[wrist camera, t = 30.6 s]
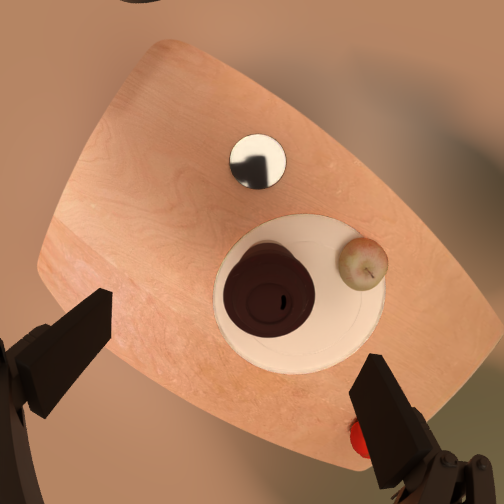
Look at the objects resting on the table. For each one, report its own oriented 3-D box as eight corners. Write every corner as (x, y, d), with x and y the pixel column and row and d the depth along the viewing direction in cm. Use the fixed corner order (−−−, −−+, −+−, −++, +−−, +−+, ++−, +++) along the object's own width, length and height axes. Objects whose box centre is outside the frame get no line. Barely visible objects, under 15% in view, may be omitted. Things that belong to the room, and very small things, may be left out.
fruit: (381, 270, 43) (402, 288, 36) (340, 286, 44) (354, 308, 37) (370, 226, 42) (391, 236, 34) (326, 242, 43) (340, 256, 35)
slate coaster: (237, 129, 39) (236, 128, 38) (291, 142, 39) (292, 141, 39) (224, 181, 41) (223, 182, 40) (278, 195, 41) (278, 195, 41)
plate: (262, 391, 50) (262, 394, 50) (180, 264, 44) (179, 266, 44) (401, 329, 46) (402, 331, 46) (346, 181, 40) (347, 181, 40)
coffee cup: (221, 270, 44) (202, 314, 30) (259, 216, 42) (257, 237, 28) (274, 305, 45) (279, 360, 31) (313, 255, 43) (337, 293, 29)
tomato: (397, 398, 51) (412, 426, 42) (384, 433, 54) (395, 459, 45) (352, 405, 51) (362, 436, 42) (342, 439, 54) (350, 468, 45)
